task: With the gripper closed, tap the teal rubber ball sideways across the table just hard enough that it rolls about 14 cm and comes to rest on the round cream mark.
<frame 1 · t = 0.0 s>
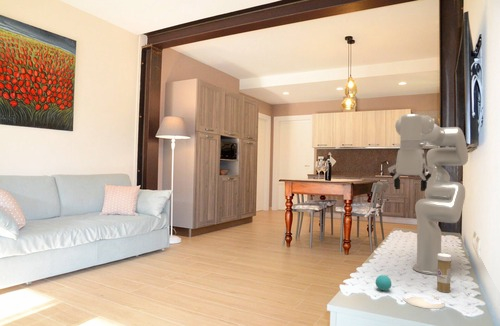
hand: (410, 189, 138), 37 cm above the table, tool pointing down, fingers open, 9 cm apart
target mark: (423, 301, 121), on the table
sprinkles bottle: (443, 291, 131), on the table
ball: (383, 282, 131), on the table
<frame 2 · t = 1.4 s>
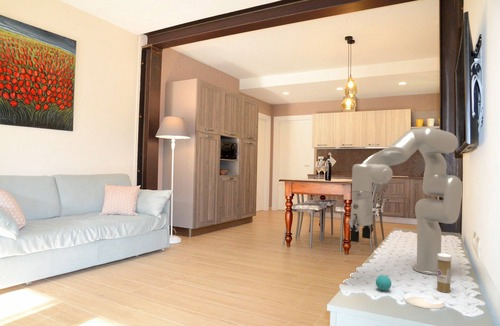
hand: (360, 239, 137), 17 cm above the table, tool pointing down, fingers open, 9 cm apart
nothing on the table moved.
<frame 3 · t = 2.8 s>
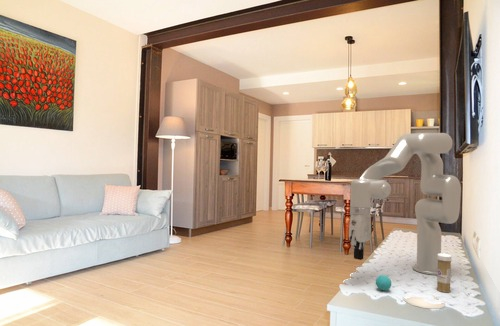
hand: (358, 258, 137), 10 cm above the table, tool pointing down, fingers closed
nothing on the table moved.
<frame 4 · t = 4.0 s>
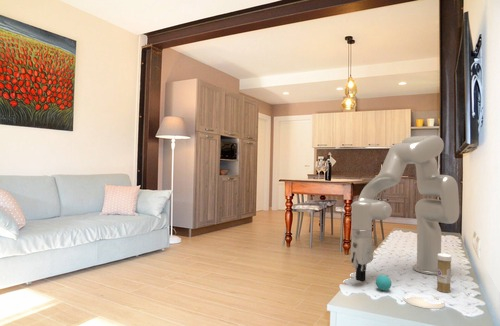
hand: (360, 280, 137), 1 cm above the table, tool pointing down, fingers closed
nothing on the table moved.
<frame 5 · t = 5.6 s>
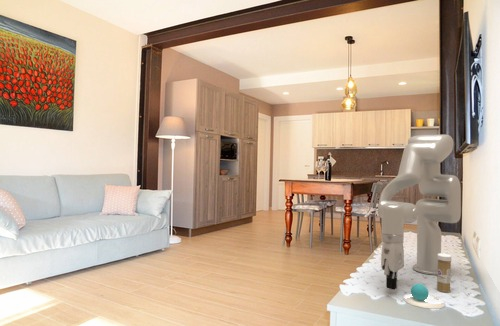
hand: (391, 288, 128), 2 cm above the table, tool pointing down, fingers closed
ball: (419, 292, 122), on the table
everything else where it was.
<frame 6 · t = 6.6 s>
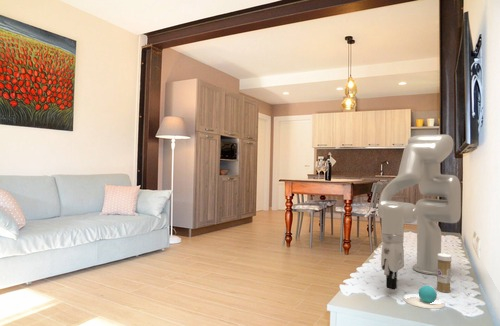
hand: (391, 288, 128), 2 cm above the table, tool pointing down, fingers closed
ball: (427, 294, 120), on the table
everything else where it was.
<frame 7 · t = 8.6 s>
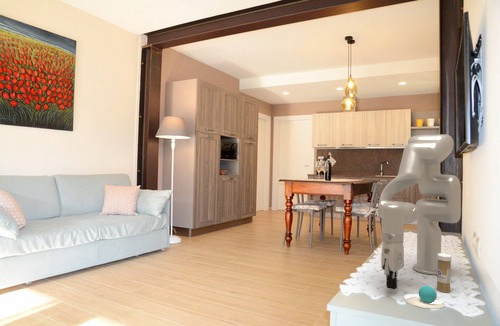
hand: (391, 288, 129), 2 cm above the table, tool pointing down, fingers closed
nothing on the table moved.
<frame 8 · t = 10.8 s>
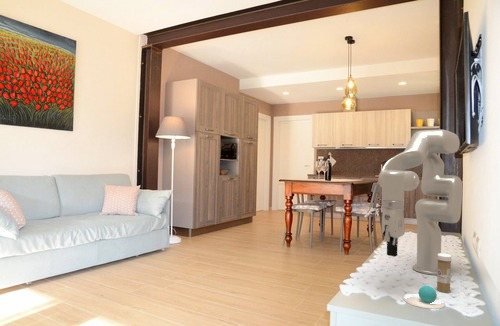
hand: (392, 255, 128), 13 cm above the table, tool pointing down, fingers closed
nothing on the table moved.
at the end: ball 1.3 cm from the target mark (horizontally); ball at rest at the end (0.0 cm/s); ball moved 15.3 cm from its start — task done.
